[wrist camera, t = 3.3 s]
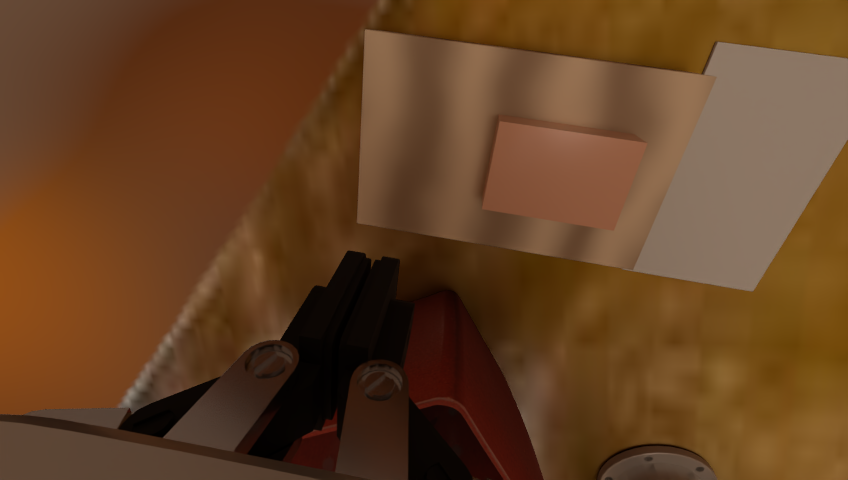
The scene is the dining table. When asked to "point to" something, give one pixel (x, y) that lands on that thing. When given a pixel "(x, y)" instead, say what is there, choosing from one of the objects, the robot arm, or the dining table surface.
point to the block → (560, 171)
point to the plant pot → (451, 397)
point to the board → (475, 128)
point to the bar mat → (749, 164)
